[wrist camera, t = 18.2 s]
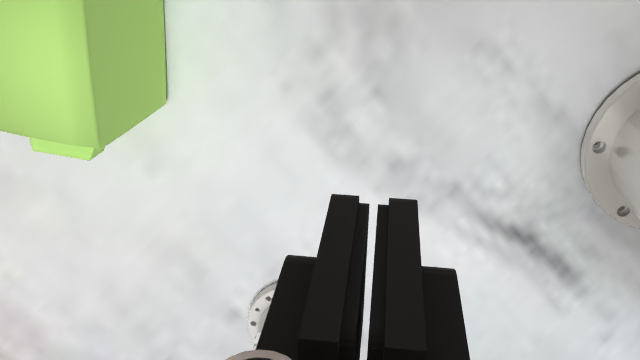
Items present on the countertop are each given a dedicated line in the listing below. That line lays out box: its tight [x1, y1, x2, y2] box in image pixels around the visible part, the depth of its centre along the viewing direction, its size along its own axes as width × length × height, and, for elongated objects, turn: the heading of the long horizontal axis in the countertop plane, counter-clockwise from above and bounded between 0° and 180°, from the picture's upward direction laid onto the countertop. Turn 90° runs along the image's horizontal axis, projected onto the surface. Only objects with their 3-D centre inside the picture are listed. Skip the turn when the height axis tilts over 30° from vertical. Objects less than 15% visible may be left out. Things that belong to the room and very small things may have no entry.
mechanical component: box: [247, 283, 277, 350], centre depth 46 cm, size 10×4×10 cm
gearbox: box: [0, 0, 166, 160], centre depth 33 cm, size 18×10×10 cm, turn 175°
